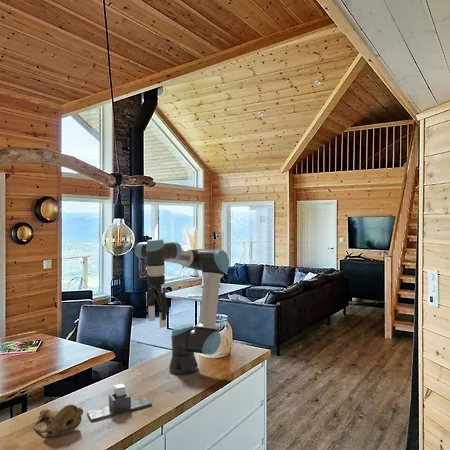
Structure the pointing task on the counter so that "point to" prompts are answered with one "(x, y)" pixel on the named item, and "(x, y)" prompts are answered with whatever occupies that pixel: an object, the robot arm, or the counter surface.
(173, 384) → the counter surface
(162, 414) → the counter surface
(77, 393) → the counter surface
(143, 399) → the square socket bracket
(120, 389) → the beige rectangular block
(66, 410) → the sword hilt
